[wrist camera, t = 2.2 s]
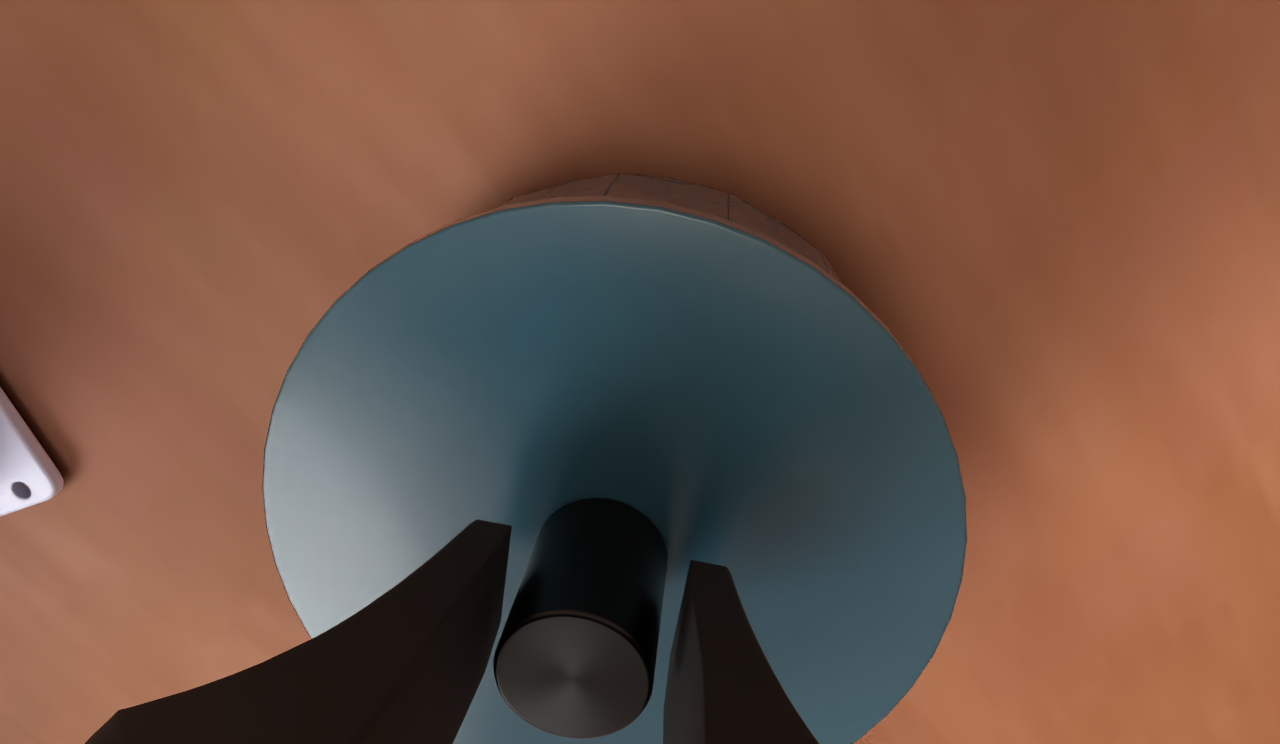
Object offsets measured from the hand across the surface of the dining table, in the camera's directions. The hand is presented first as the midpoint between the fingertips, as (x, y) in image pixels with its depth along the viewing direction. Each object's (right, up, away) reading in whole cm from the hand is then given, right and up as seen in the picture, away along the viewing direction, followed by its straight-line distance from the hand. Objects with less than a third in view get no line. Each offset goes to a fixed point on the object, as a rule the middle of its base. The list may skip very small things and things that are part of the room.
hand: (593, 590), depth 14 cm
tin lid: (0, +1, +1) cm, 2 cm away
